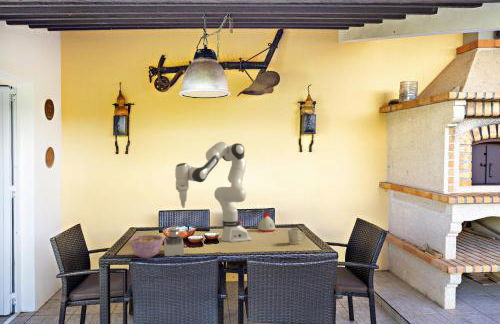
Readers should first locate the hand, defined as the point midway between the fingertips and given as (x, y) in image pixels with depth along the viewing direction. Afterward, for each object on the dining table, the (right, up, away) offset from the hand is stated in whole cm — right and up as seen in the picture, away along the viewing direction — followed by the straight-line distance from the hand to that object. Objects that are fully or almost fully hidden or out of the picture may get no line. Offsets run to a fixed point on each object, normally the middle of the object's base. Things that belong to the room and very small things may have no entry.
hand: (182, 206), depth 293 cm
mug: (+80, -27, +6) cm, 85 cm away
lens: (-4, -21, -15) cm, 26 cm away
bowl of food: (-18, -29, -27) cm, 44 cm away
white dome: (+60, -26, +52) cm, 83 cm away
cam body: (-3, -28, -17) cm, 33 cm away
